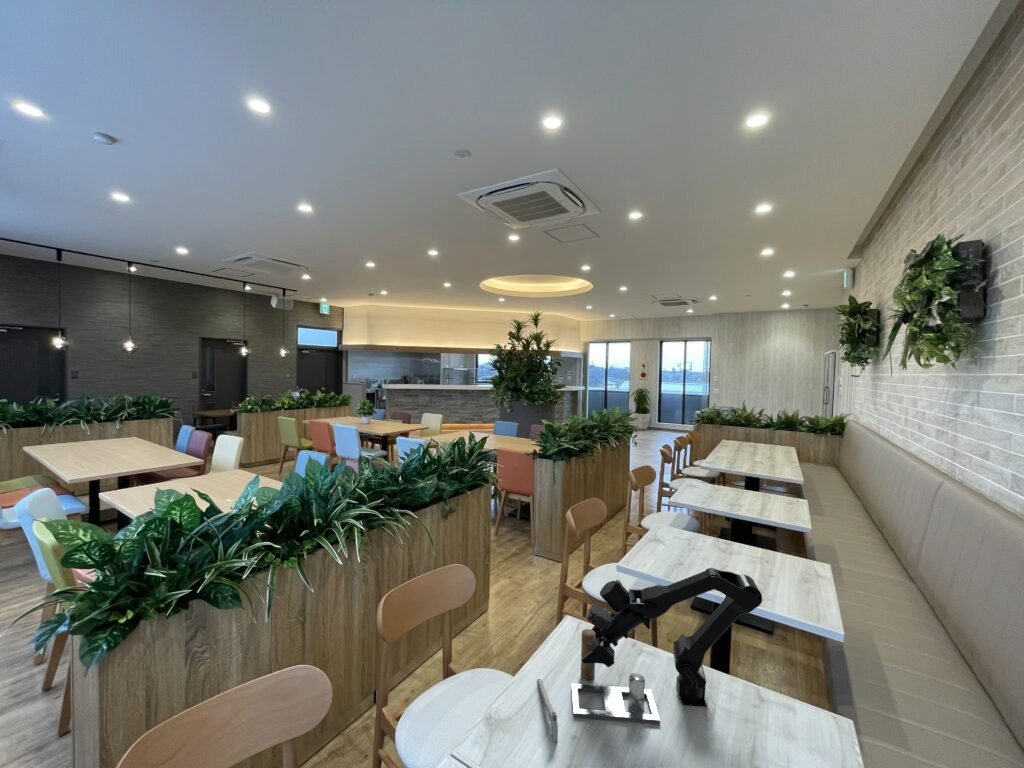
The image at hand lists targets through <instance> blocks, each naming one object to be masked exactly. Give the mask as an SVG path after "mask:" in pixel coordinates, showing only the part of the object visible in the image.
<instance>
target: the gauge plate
mask: <svg viewBox="0 0 1024 768" xmlns="http://www.w3.org/2000/svg"><path fill="white" fill-rule="evenodd" d="M579 693H584V694H585V693H586V694H599V695H602V699H603V704H604V705H603V707H604V710H601V709H600V710H598V709H588V708H580V706H579V704H580V703H579ZM623 697H629V687H623V686H610V685H609V686H608V685H599V684H598V685H597V684H596V685H595V684H585V683H584V684H583V683H573V682H572V683H571V699H572V701H571V702H572V714H573V718H576V719H577V718H579V719H580V718H581V719H588V720H589V719H590V720H591V719H592V720H599V721H613V722H614V721H615V722H625V723H626V722H627V723H637V724H638V723H639V724H648V725H649V724H650V725H661V718H660V716H659V712H658V709H657V705H656V703H655V699H654V696H653V692H652V689H650V688H649V689H647V688H645V690H644V698H646V701H647V705H648V709H649V711H650V714H647V713H635V712H626V709H625V705H624V700H623Z"/></svg>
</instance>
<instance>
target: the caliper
mask: <svg viewBox="0 0 1024 768" xmlns="http://www.w3.org/2000/svg"><path fill="white" fill-rule="evenodd" d="M536 681H537V684H538V687H539V691H540V694H541V697H542V700H543V703H544V706H545V708H546V711H547V718H548V720H549V723H550V733H551V737H552V741H553V743H558V741H559V739H558V736H559V734H558V733H559V731H558V730H559V729H558V728H559V727H558V726H559V725H558V719H557V717H558V716H557V715H558V714H557V713H556V711H554V708H553V705H552V703H551V702H550V699H549V697H548V694H547V690H546V688H545V685H544V682H543V679H542V678H537V680H536Z"/></svg>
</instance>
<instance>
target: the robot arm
mask: <svg viewBox="0 0 1024 768" xmlns="http://www.w3.org/2000/svg"><path fill="white" fill-rule="evenodd" d="M600 589H601V590H600V591H599V596H600V597H601V598H602V599H603V601H605V603H606V604H607V605H608V606H609V607H610V608H611V609H612V611H611V612H609V611H608V609H607V608H603V607H602V606H600V605H598V604H597V603H594V602H592V603H591V604H590V605H591V606H590V607H589V609H588V610H587V616H586V619H587V621H588V622H590V623H591V624H592V625H593V626H592V628H591V629H590V630H593V631H594V632H595V633H596V640H595V642H594V641H593V645H592V649H591V650H590V651H589V652H588V653H587V654H586V655H585V656H584V658H583V659H582V662H583V663H584V664H585V663H595V664H602V665H605V666H606V667H607V668H610V667H612V666H613V665H615V654H616V653H615V650H614V649H613V647H612V646H611V644H612V645H613V646H614V647H617V646H618V644H619V641H620V640H621V639H623V638H624V639H626V640H627V639H628V638H629V635H630V634H629V633H631V632H633V631H634V630H635V629H636V628H638V627H640V626H641V625H642V624H643V625H644V626H645V628H646V629H648V630H650V629H651V621H652V619H653V620H655V619H657V618H659V617H660V616H663V615H664V614H666V613H667V612H668V611H669V610H670V609H671V608H672V607H673V606H675V605H676V604H679V603H682V602H684V601H686V600H690V599H693V598H695V597H697V596H701V595H702V594H705V593H707V592H710V591H711V592H712V591H713V590H714V591H718V592H720V593H721V594H724V595H725V596H724V599H723V600H722V602H721V603H720V604H719V605H718V606H717V607H716V608H715V609H714V611H712V613H711V614H710V615H709V616H708V617H707V618H706V620H705V621H704V622H703V623H702V624H700V626H699V627H698V628H697V630H696V631H695V632H694V633H693V634H692V635H689V636H685V635H684V634H683V633H681V634H680V636H679V637H678V639H677V640H675V641H673V647H672V653H673V660H674V666H675V670H676V671H677V673H678V675H677V676H676V681H675V682H676V685H675V688H676V689H675V691H676V693H677V695H678V697H679V698H680V701H681V704H682V705H684V706H693V707H694V706H695V707H705V708H706V707H708V702H707V701H706V685H707V679H706V675H705V671H704V667H703V663H704V660H705V657H706V656H705V655H706V653H707V652H708V650H709V649H710V648H712V646H713V645H714V644H715V643H716V642H717V640H719V638H720V637H721V636H722V635H723V634H724V633H725V632H726V630H728V628H729V627H730V626H731V625H732V624H733V623H734V622H735V621H736V620H737V618H738V617H740V616H741V615H745V614H750V613H752V612H753V611H754V610H755V609H757V608H759V606H760V605H761V604H762V602H763V596H762V593H761V591H760V589H759V588H758V586H757V583H756V582H755V580H754V579H753V578H752V577H751V576H749V575H747V574H738V573H735V572H732V571H727V570H719V569H716V568H712V567H709V568H707V569H705V570H704V571H701V572H698V573H697V574H694V575H691V576H689V577H686V578H684V579H680V580H679V581H676V582H674V583H671V584H668V585H664V586H663V585H661V586H660V585H652V586H648V587H645V588H643V589H639V588H638V589H636V588H634V589H633V588H631V589H630V588H629V589H628V590H627V588H625V586H623V584H622V582H621V580H620V579H615V580H611V581H608V582H606V583H605V584H604V585H603V586H602V587H601V588H600ZM638 599H639V602H638Z"/></svg>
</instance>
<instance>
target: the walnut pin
mask: <svg viewBox="0 0 1024 768" xmlns="http://www.w3.org/2000/svg"><path fill="white" fill-rule="evenodd" d="M595 640H596V633H595V632H594V631H593V630H591V629H589V628H586V629H583V630H582V631H581V648H580V649H581V650H580V651H581V654H580V656H581V657H580V677H581V679H583V680H584V681H587V682H590V681H593V680H594V679H595V676H596V674H595V673H596V672H595V671H596V670H595V668H596V663H585V664H584V663H583V662H582V659H583V658H584V656H585V655H586V654H587V653H588V652H589V651H590V650H591V649H592V645H593V641H594V642H595Z"/></svg>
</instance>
